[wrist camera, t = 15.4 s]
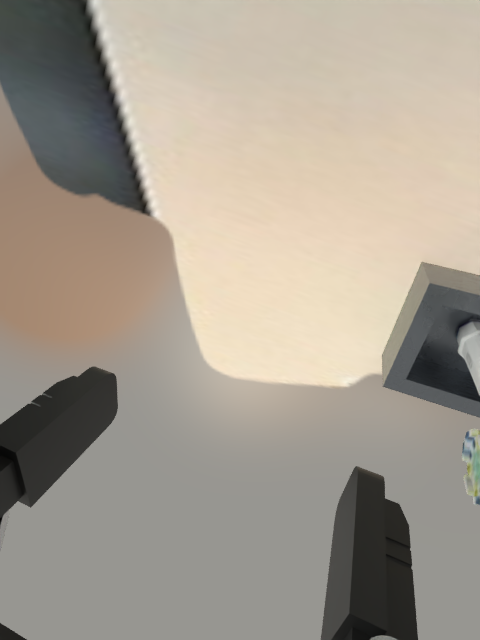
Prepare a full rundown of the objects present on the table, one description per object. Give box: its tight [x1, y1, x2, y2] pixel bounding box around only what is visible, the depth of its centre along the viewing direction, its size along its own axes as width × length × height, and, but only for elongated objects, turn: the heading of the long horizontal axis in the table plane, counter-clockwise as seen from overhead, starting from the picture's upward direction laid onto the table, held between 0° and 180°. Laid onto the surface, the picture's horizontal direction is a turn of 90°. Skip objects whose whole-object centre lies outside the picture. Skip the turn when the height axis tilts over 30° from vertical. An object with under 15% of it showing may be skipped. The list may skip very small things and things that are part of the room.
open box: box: [382, 262, 480, 417], centre depth 41 cm, size 14×14×8 cm
